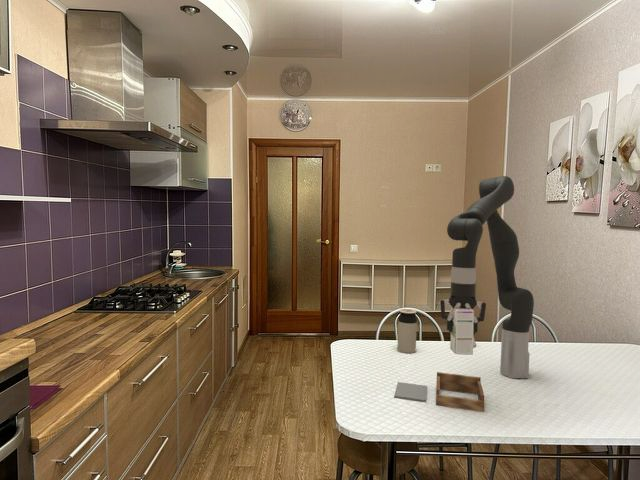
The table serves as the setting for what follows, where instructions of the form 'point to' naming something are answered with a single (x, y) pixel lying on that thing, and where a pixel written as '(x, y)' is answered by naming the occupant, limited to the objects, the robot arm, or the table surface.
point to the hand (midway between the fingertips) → (461, 332)
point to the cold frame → (460, 385)
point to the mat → (411, 392)
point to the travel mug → (407, 331)
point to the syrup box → (462, 331)
